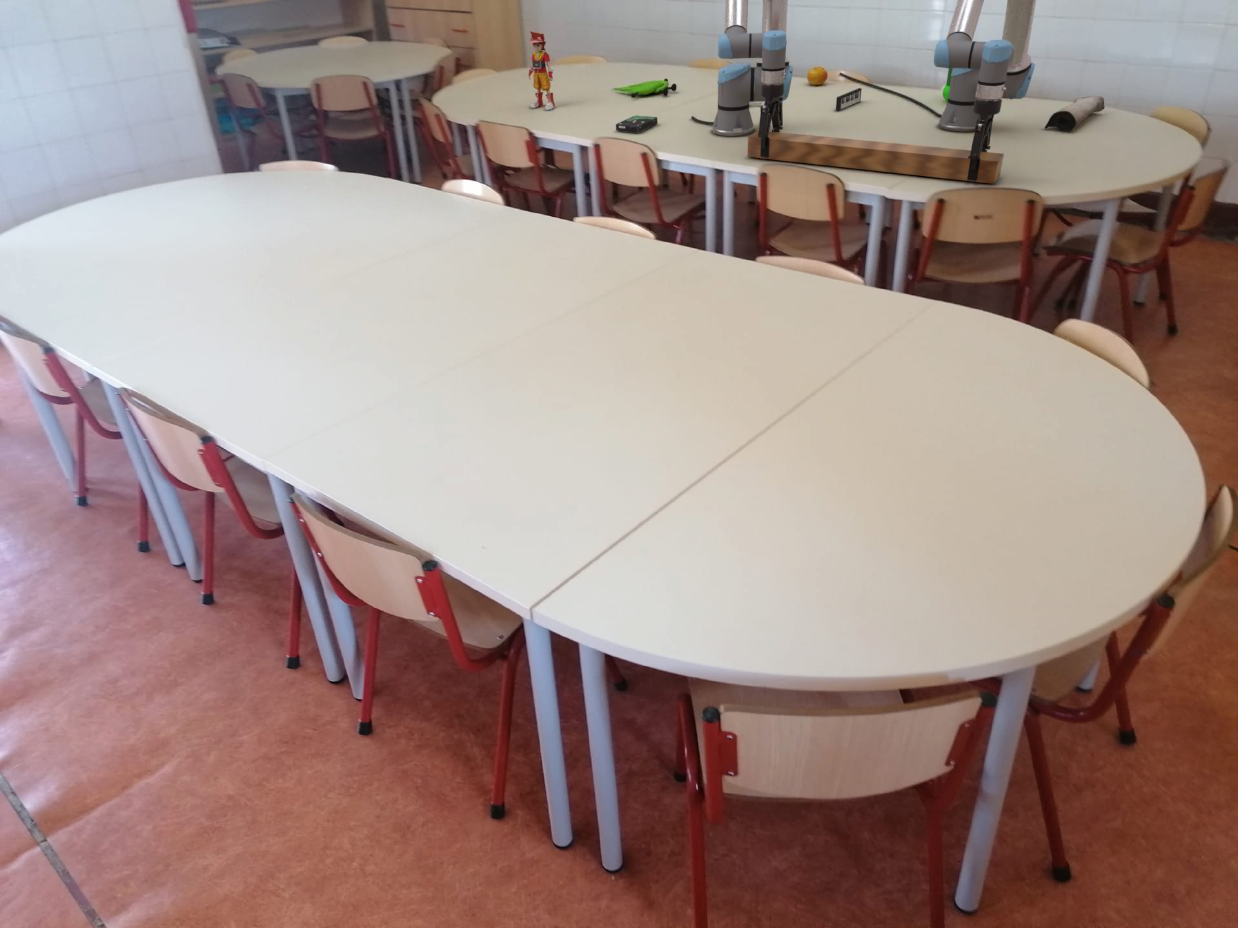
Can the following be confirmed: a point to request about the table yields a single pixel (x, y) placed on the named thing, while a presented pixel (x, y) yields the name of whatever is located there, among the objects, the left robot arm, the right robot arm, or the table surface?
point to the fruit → (817, 76)
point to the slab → (877, 156)
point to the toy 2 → (648, 88)
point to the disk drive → (636, 124)
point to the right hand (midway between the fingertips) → (975, 175)
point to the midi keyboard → (848, 99)
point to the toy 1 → (541, 71)
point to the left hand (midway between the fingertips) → (769, 153)
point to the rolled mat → (1075, 113)
